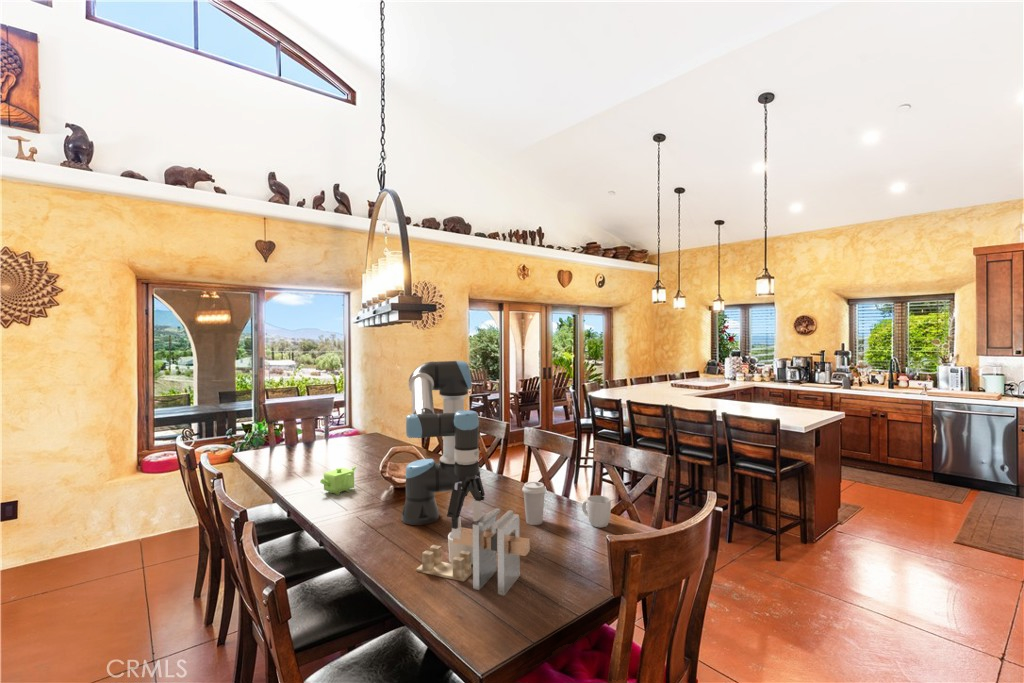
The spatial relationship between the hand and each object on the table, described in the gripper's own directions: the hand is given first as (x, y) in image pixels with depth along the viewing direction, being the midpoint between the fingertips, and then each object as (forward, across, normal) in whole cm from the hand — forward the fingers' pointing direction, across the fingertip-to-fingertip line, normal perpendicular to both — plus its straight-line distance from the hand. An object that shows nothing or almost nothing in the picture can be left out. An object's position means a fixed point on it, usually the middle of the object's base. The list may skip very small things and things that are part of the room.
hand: (467, 529), depth 145 cm
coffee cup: (+15, +47, -5) cm, 50 cm away
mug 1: (+15, +10, +6) cm, 19 cm away
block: (+2, 0, -8) cm, 8 cm away
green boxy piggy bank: (+16, +48, +95) cm, 107 cm away
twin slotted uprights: (+14, 0, -10) cm, 18 cm away
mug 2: (+15, +55, -28) cm, 63 cm away
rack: (+14, -1, +8) cm, 16 cm away
